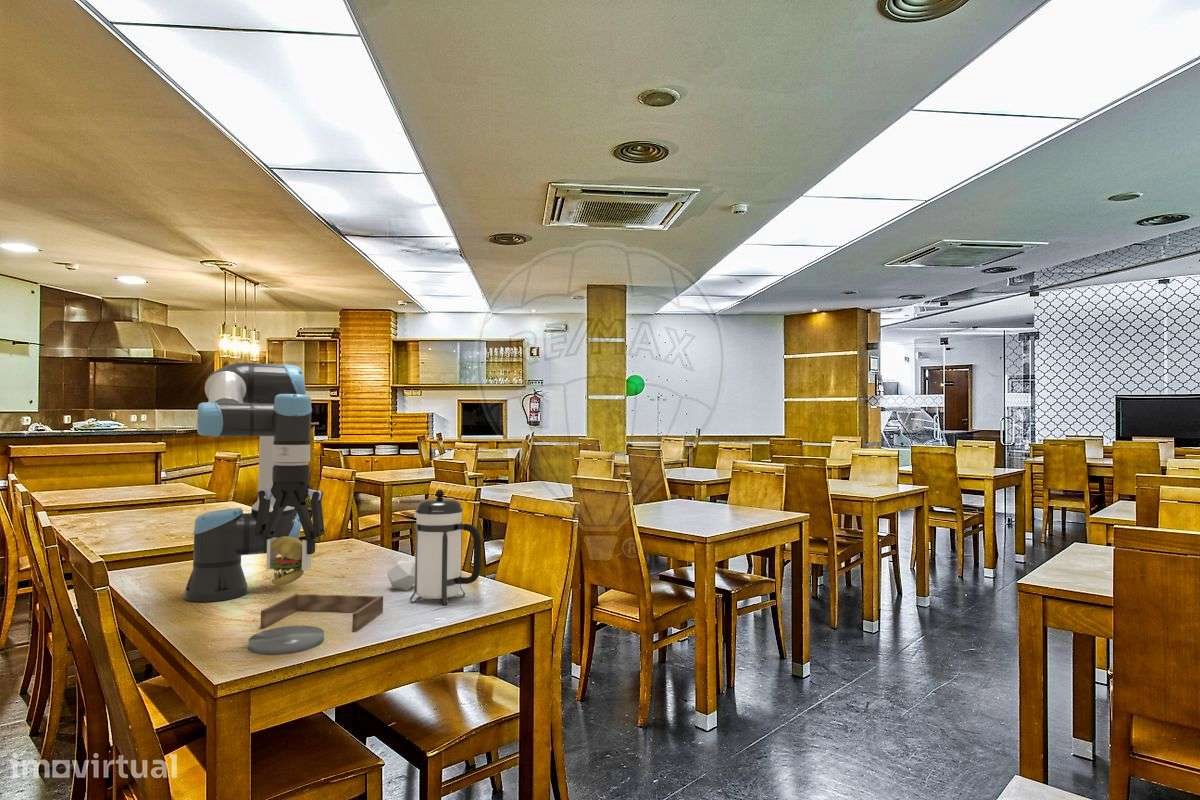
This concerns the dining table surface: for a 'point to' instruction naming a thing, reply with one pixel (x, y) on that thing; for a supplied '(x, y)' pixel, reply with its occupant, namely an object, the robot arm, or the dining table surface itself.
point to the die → (402, 575)
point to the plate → (286, 639)
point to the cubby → (326, 607)
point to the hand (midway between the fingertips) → (288, 568)
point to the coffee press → (441, 549)
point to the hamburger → (287, 560)
